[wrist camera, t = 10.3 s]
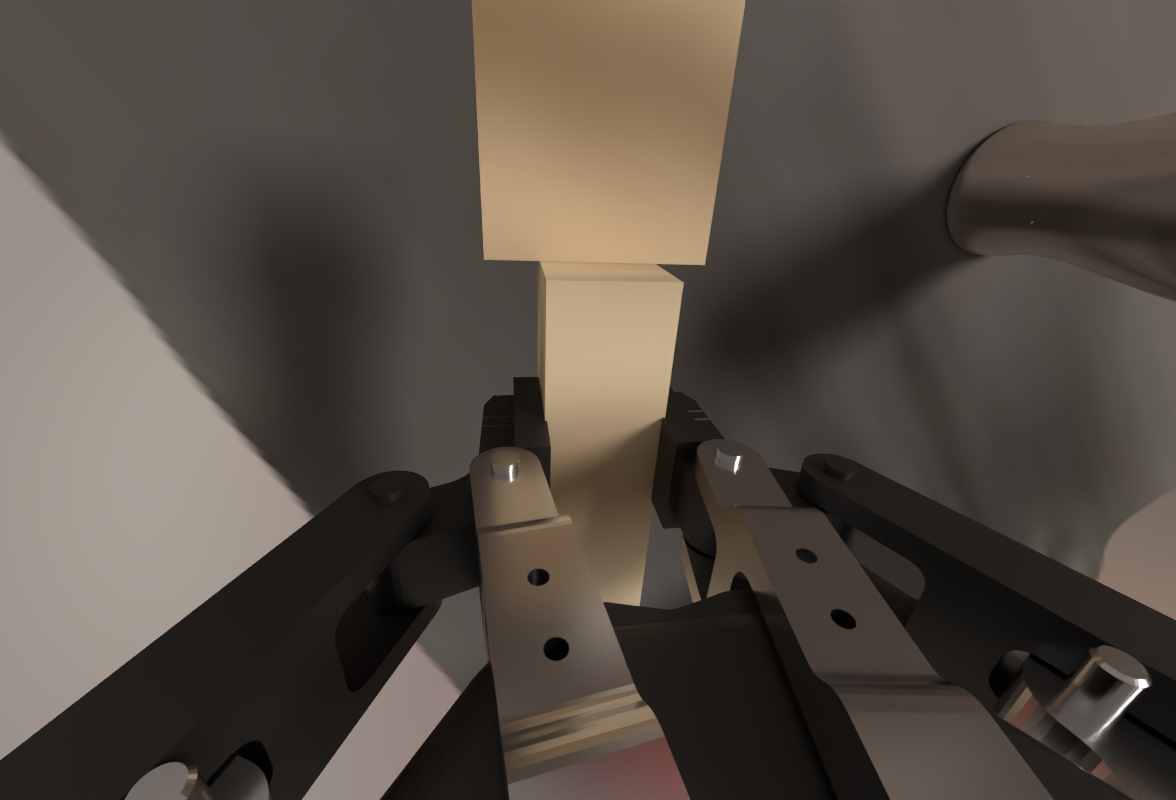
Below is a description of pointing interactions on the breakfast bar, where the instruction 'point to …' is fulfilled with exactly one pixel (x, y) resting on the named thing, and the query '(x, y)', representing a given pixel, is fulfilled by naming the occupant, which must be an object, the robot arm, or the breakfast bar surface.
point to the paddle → (603, 226)
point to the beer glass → (1075, 198)
